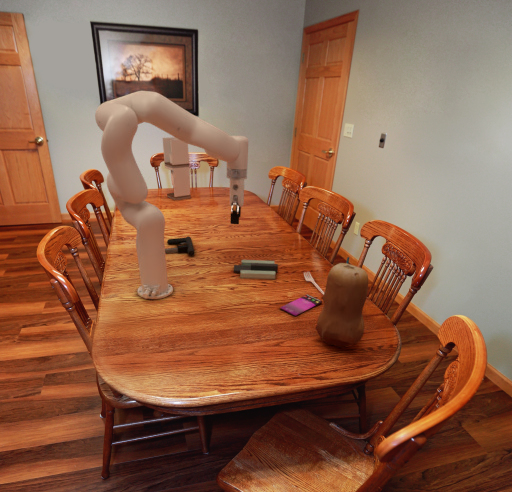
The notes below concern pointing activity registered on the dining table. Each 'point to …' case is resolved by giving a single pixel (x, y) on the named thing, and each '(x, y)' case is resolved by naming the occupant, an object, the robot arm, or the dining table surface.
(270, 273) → the spoon rest
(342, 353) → the dining table surface
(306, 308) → the smartphone
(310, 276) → the fork
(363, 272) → the butternut squash
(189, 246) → the submachine gun
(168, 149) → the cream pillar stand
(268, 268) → the spatula
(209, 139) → the robot arm
